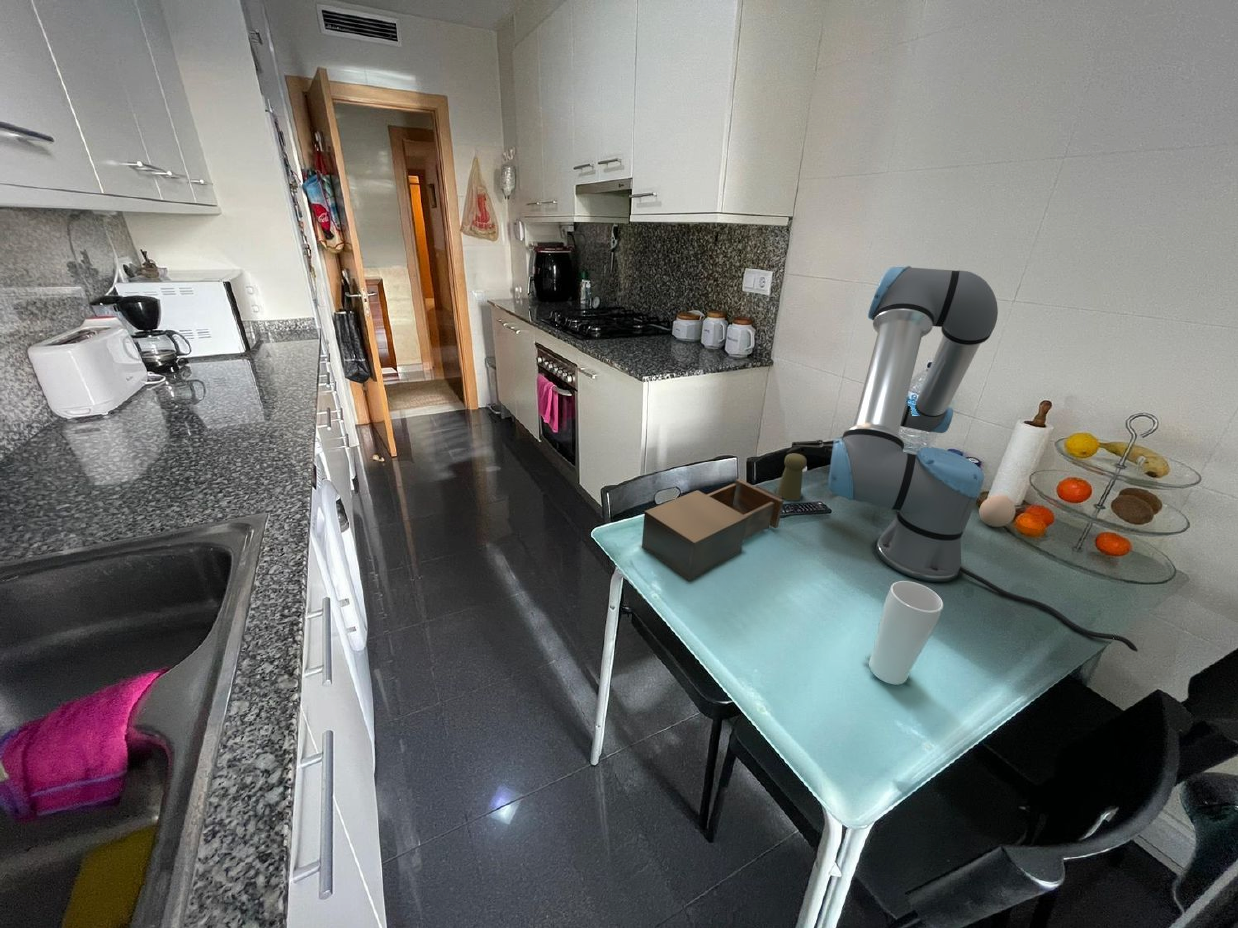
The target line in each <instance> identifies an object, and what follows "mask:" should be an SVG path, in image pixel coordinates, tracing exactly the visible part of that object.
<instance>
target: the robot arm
mask: <svg viewBox="0 0 1238 928" xmlns="http://www.w3.org/2000/svg"><path fill="white" fill-rule="evenodd" d="M998 314H999V308H998V301H997V298H996V295H995V292H994V290H993V289H992V287H991V286H990V285H989V284H988V282H987V280H985V278H982V277H981V276H980V275H978V274H977V273H974V272H971V271H969V270H959V269H958V270H952V269H941V268H940V269H938V268H923V267H912V266H910V265H907V266H892V267H888V268H887V269H886V270H885V271H884V273H883V274H882V276H881V277H880V280H879V282H878V284H877V288H876V289H875V292H874V295H873V298H872V300H871V303H870V307H869V310H868V315H867V317H868V319H869V320H871V321H872V327H873V329H874V330H875V332H876V333H877V334H876V339H875V343H874V346H873V349H872V354H871V357H870V362H869V365H868V369H867V372H866V377H865V380H864V384H863V388H862V391H861V396H860V400H859V403H858V406H857V411H856V414H855V419H854V423H853V426H851V427H850V428H848V429H846V430H844V432H843V434H842V436H840V437H837V438H835V439H834V440H833V441H832V442H831V443H823V442H824V440H823V439H815V440H806V441H805V440H804V441H792V442H791V447H790V448H789V449H788V450H786V451H785V453H784V456H783V462H784V461H785V457H786V456H787V455H788V454H791V453H796V454H800V455H803V456H819V457H820V458H828V459H830V465H829V475H828V490H829V492H830V493H832V494H833V495H836V496H838V497H842V498H846V499H848V500H849V501H857V502H862V503H866V504H869V505H873V506H877V507H882V508H886V509H891V510H894V511H897V510H898V512H897V513H896V516H895V518H894V519H893V521H891V523H890V524H889V525H888V526H887V528H886V529H885V530H884V531H883V532H882V533H881V535H880V536H879V537H878V540H877V543H876V547H875V551H876V555H878V557H879V558H880V560H882V562H884V563H885V564H886V565H887V566H889V567H890V568H892V569H893V570H895V571H897V572H899V573H901V574H902V575H905V576H908V577H910V578H913V579H917V580H920V581H925V582H930V583H947V582H951V581H954V580H955V579H956V578H957V577H958V575H959V574H960V573H962V574H964V575H966V576H968V577H970V578H972V579H974V580H976V581H978V582H979V583H981V584H983V585H985V586H986V587H988V588H989V589H992V590H993V591H995V592H997V593H998V594H1000V595H1003V596H1005V597H1008V598H1010V599H1013V600H1015V601H1019V602H1023V603H1027V604H1031V605H1033V606H1036V607H1039V608H1041V609H1044V610H1045V611H1047V612H1049V613H1050V614H1052V615H1054V616H1055V617H1057V619H1059V620H1061V621H1062V622H1063V623H1064V624H1066V625H1067V626H1069V627H1070V628H1072V629H1073V630H1075V631H1077V632H1079V633H1081V634H1083V635H1086V636H1089V637H1092V638H1097V639H1104V640H1113V641H1117V642H1121V643H1123V644H1124V645H1126V646H1127V648H1129V650H1132V651H1134V652H1139V651H1138V648H1137V646H1136V645H1135V644H1134V643H1133V642H1132V641H1131V640H1130V639H1128V638H1126V637H1124V636H1122V635H1117V634H1112V633H1105V632H1096V631H1092V630H1089V629H1086V628H1084V627H1082V626H1080V625H1077V624H1076V623H1074V622H1073V621H1072V620H1070V619H1069V618H1068V617H1066V616H1065V615H1064V614H1062V613H1061V612H1060V611H1058V610H1056V608H1054V607H1051V606H1049V605H1048V604H1046V603H1044V602H1042V601H1038V600H1036V599H1032V598H1028V597H1026V596H1025V597H1024V596H1021V595H1018V594H1015V593H1011V592H1009V591H1007V590H1004V589H1003V588H1000V587H999V586H997V585H996V584H993V583H992V582H990V581H988V580H987V579H985V578H983V577H981V576H979V575H977V574H975V573H973V572H971V571H969V570H967V569H965V568H963V567H962V542H961V541H962V536H963V534H964V531H965V529H966V527H967V525H968V522H969V520H970V517H971V515H972V512H973V511H974V507H975V505H976V503H977V501H978V499H979V498H980V496H981V491H982V488H983V484H984V482H985V475H984V472H983V470H982V469H981V468H980V467H979V466H978V465H977V464H976V463H974V462H973V461H972V460H970V459H969V458H966V457H964V456H963V455H960V454H958V453H955V452H952V451H951V450H948V449H947V450H946V449H943V448H939V447H933V446H931V447H929V446H925V447H921V448H919V450H918V451H916V453H910V452H905V451H904V449H905V441H904V439H903V438H902V437H901V436H900V435H899V432H900V428H901V427H902V428H908V429H913V430H917V431H923V432H926V433H927V432H928V433H936V434H944V433H945V434H946V433H947V432H948V430H949V428H950V426H951V423H952V421H953V417H954V409H953V407H952V406H950V405H951V403H952V401H953V399H954V397H955V395H956V393H957V391H958V389H959V387H960V385H961V383H962V381H963V379H964V377H965V375H966V374H967V371H968V369H969V368H970V365H971V363H972V362H973V359H974V357H975V356H976V354H977V351H978V350H979V348H980V345H981V344H984V343H985V342H987V341H988V340H989V339H990V337H991V336H992V333H993V332H994V329H995V327H996V324H997V321H998ZM934 327H935V328H936V327H937V328H940V331H941V334H942V337H941V340H940V342H939V344H938V347H937V349H936V351H935V354H934V357H933V360H932V362H931V364H930V367H929V369H928V371H927V374H926V376H925V378H924V381H923V384H922V386H921V389H920V391H919V393H918V395H917V398H916V400H915V401H916V405H915V409H916V411H917V413H918V414H919V415H920V416H912V414H911V411H912V410H911V407H910V406H908V403H906V401H907V400H908V397H909V396H908V395H909V391H910V387H911V383H912V379H913V375H914V371H915V368H916V367H915V366H916V362H917V358H918V354H919V351H920V346H921V342H922V338H923V337H926V336H927V335H929V333H931V331H932V330H933V328H934ZM1113 638H1114V639H1113Z"/></svg>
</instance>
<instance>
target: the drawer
mask: <svg viewBox="0 0 1238 928" xmlns="http://www.w3.org/2000/svg"><path fill="white" fill-rule="evenodd" d="M706 495H708V496H710V497H711V498H713V499H715V500H717V501H719V502H721V503H723V504H724V505H726V506H728V507H730V508H732V509H734V510H736V511H737V512H739V513H741V514H743V515H745V516H747V517H748V519H747V524H746V530H745V535H744V540H743V542H745V541H747V540H749V539H750V538H752V537H754V536H756V535H758V534H760V533H762V532H764V531H765V530H767V529H769V528H770V527H772V528H773V529H776V528H778V527H779V524H780V519H781V515H782V510H783V505H784V501H785V499H784V498H783V497H781V496H779V495H777V494H776V492H772V491H771V490H770V489H766V488H765V487H763V486H760V485H758V484H757V485H756V486H755V485H753V484H750V483H749V482H747V481H745V480H742V479H740V478H736V479H735V480H734V483H732V484H729V485H727V486H724V487H722V488H719V489H716V490H715V491H712V492H710V493H707V494H706Z"/></svg>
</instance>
